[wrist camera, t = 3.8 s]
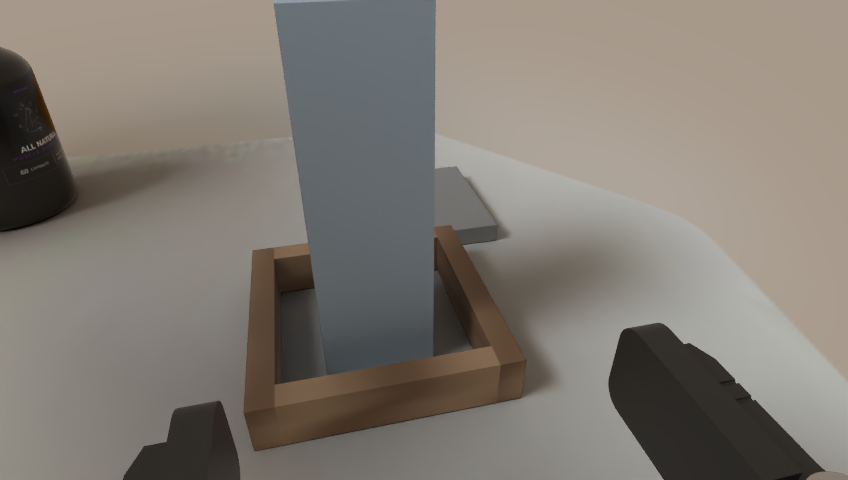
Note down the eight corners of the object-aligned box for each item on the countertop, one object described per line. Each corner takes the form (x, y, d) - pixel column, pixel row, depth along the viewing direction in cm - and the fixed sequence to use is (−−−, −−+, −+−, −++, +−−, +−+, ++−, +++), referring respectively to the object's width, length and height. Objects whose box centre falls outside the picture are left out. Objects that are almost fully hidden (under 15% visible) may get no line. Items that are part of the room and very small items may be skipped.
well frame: (254, 451, 19) (243, 413, 18) (259, 283, 27) (252, 250, 26) (521, 397, 21) (526, 360, 19) (450, 256, 29) (451, 224, 28)
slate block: (327, 378, 21) (273, 3, 14) (319, 310, 25) (273, -18, 18) (433, 359, 22) (435, -4, 15) (410, 296, 26) (403, -22, 18)
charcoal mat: (355, 258, 29) (354, 243, 28) (340, 192, 35) (339, 179, 35) (496, 239, 30) (497, 224, 30) (456, 179, 37) (456, 166, 36)
